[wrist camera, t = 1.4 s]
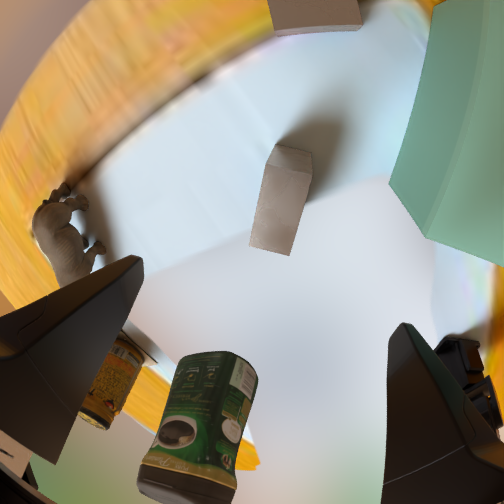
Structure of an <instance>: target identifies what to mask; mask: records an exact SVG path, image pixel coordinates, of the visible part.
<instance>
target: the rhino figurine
mask: <svg viewBox="0 0 504 504" xmlns="http://www.w3.org/2000/svg"><path fill="white" fill-rule="evenodd" d="M69 196H70V191H69V189H68V187H67V185H66V184H64V183H63V184H61V185H60V187H59V188H58V189H57V190H56V189H54V190H53V191H52V193H51V195H50V198H49V200H43V203H42V205H41V206H39V207H38V209H37V210H36V212H35V214H34V216H33V220H32V230H33V233H34V235H35V237H36V239H37V241H38V243H39V246H40V248H41V250H42V251H43V252H44V254H45V255H46V256H47V257H48V259H49V260H50V262H51V265H52V267H53V270H54V272H55V275H56V278H57V281H58V284H59V286H60V288H62V287H64V286H66V285H68V284H70V283H72V282H74V281H76V280H78V279H80V278H82V277H84V276H86V275H89V274H90V272H91V271H92V267H93V265H94V261H95V257H96V255H97V254H99V255H104V254H105V253H106V248H105V246H104V245H103V244H102V243H100V242H95V243H94V245H93V247H91V248H89V249H88V251H87V252H86V253H84V251H83V250H85V249H86V248H88V247H89V244H88V242H87V241H86V240H85V239H83V238H82V237H81V235H80V233H79V232H78V230H77V229H76V228H75V227H74V226H73V225H71V224H70V223H69V222H70V220H71V216H72V212H73V211H75V210H78V209H80V210H83V211H86V210H87V209H88V200H87V199H86V198H85V197H84V196H83V195H80V194H79V195H77V196H76V198H75V199H73V198H70V197H69ZM61 197H62V198H63V199H66V198H67V197H69V198H67V199H66V200H65V201H64V202H59V200H60V198H61Z"/></svg>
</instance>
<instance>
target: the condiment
mask: <svg viewBox="0 0 504 504" xmlns="http://www.w3.org/2000/svg"><path fill="white" fill-rule="evenodd" d="M125 339H126V340H125ZM151 365H157V363H155V362H154V361H153V360H152V359H151V358H150V357H149V356H148V355H146V353H145V352H144V351H143V350H142V349H140V348H139V347H138V346H137V345H136V344H135V343H133V342H132V341H131V340H130V339H129V338H128V337H127V336H126V335H125V334H124V333H123V332H122V331H120V332H119V334H118V336H117V338H116V340H115V341H114V343H113V345H112V347H111V349H110V351H109V352H108V354H107V356H106V358H105V360H104V362H103V364H102V366H101V368H100V370H99V372H98V374H97V375H96V377H95V379H94V381H93V383H92V385H91V387H90V389H89V391H88V394H87V396H86V398H85V400H84V402H83V404H82V406H81V408H80V410H79V412H78V416H80V417H81V418H82V419H83V420H85V421H87V422H88V423H90V424H91V425H93V426H95V427H97V428H99V429H102V430H108V429H109V428H110V425H111V423H112V421H113V420H114V416H116V415H118V414H119V413H120V411H121V410H122V407H123V406H124V403H125V402H126V398H127V396H128V394H129V393H130V390H131V389H132V386H133V385H134V383H135V380H136V379H137V376H138V374H139V372H140V370H141V368H142V366H151Z"/></svg>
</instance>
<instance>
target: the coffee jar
mask: <svg viewBox="0 0 504 504" xmlns="http://www.w3.org/2000/svg"><path fill="white" fill-rule="evenodd" d="M257 385H258V376H257V374H256V372H255V370H254V368H253V367H252V366H251V364H250V363H249V362H248V361H246V360H245V359H243V358H242V357H240V356H238V355H236V354H234V353H232V352H227V351H215V352H204V353H196V354H192V355H188V356H185V357H183V358H182V359H181V360H180V361H179V363H178V365H177V368H176V371H175V374H174V378H173V381H172V385H171V388H170V392H169V396H168V399H167V403H166V406H165V409H164V413H163V416H162V419H161V422H160V426H159V429H158V432H157V434H156V437H155V439H154V442H153V444H152V446H151V448H150V449H149V451H148V453H147V454H146V455H145V456H144V458H143V460H142V462H141V465H140V469H139V473H138V478H137V487H138V489H139V492H140V493H141V494H143V495H145V496H147V497H149V498H152V499H154V500H156V501H158V502H160V503H163V504H231V502H232V499H233V497H234V494H235V490H236V489H237V480H236V476H235V462H236V457H237V452H238V448H239V445H240V442H241V438H242V435H243V431H244V428H245V425H246V422H247V419H248V415H249V412H250V410H251V407H252V403H253V400H254V397H255V393H256V389H257Z"/></svg>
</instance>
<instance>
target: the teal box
mask: <svg viewBox="0 0 504 504" xmlns="http://www.w3.org/2000/svg"><path fill="white" fill-rule="evenodd" d="M389 185H390V187H391V188H392V189H393V191H394V192H395V194H396V195H397V196H398V198H399V199H400V201H401V202H402V204H403V205H404V206H405V208H406V209H407V211H408V212H409V214H410V215H411V217H412V218H413V220H414V221H415V223H416V224H417V226H418V227H419V229H420V230H421V232H422V234H423V235H424V237H425V238H427V239H430V240H433V241H436V242H439V243H442V244H444V245H447V246H450V247H453V248H455V249H458V250H461V251H464V252H466V253H469V254H472V255H474V256H477V257H479V258H482V259H485V260H487V261H490V262H492V263H495V264H497V265H500V266H502V267H504V0H447V1H444V2H442V3H440V4H438V5H436V6H434V8H433V15H432V22H431V28H430V34H429V40H428V45H427V50H426V55H425V60H424V65H423V69H422V74H421V78H420V82H419V86H418V90H417V94H416V98H415V102H414V106H413V109H412V113H411V116H410V120H409V123H408V127H407V130H406V133H405V136H404V140H403V143H402V146H401V149H400V152H399V155H398V158H397V161H396V164H395V167H394V170H393V173H392V175H391V178H390V181H389Z"/></svg>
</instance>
